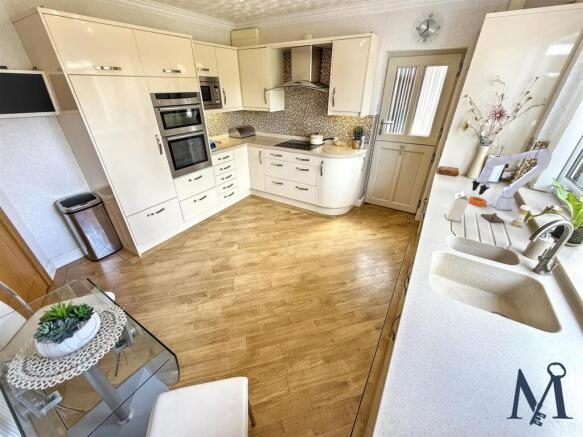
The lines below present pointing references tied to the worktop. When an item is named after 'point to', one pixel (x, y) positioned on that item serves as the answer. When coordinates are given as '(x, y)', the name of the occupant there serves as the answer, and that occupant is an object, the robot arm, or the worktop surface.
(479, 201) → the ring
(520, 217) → the sprinkles bottle
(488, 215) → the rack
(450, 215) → the milk carton
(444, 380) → the worktop surface
